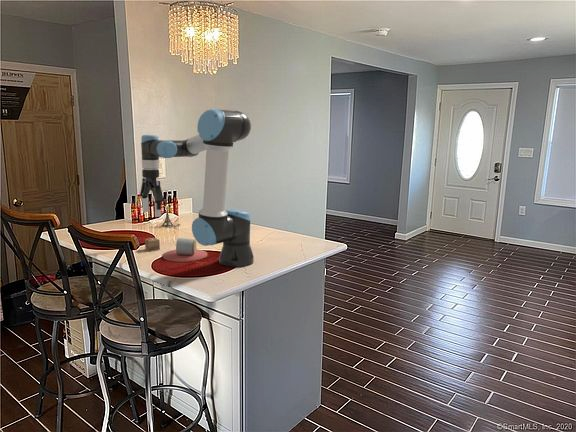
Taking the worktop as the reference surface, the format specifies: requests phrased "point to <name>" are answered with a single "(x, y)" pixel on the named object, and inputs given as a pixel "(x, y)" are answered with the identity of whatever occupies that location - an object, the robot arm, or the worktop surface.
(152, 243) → the walnut cube
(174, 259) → the placemat
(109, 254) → the worktop surface
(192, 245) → the light grey block
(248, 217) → the robot arm
